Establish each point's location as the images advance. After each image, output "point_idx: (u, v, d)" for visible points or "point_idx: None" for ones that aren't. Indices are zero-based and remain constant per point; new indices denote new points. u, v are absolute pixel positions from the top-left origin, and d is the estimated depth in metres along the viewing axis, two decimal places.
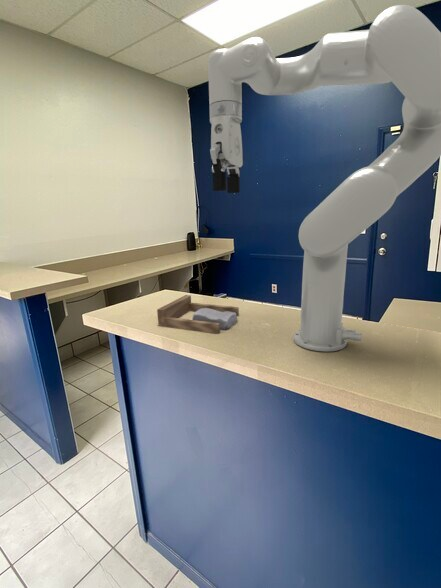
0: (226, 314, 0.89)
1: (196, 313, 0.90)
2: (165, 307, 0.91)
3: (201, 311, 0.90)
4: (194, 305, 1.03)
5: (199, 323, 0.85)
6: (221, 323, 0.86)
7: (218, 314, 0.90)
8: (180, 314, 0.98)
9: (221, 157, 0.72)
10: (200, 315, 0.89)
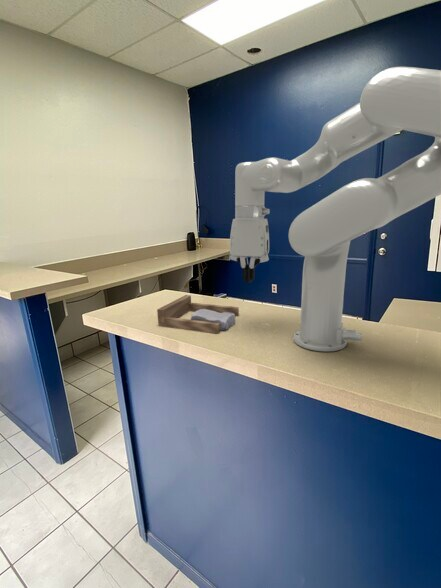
0: (224, 315, 0.89)
1: (194, 314, 0.89)
2: (165, 307, 0.91)
3: (199, 312, 0.90)
4: (194, 305, 1.03)
5: (199, 323, 0.85)
6: None
7: (216, 315, 0.89)
8: (180, 314, 0.98)
9: None
10: (198, 316, 0.88)
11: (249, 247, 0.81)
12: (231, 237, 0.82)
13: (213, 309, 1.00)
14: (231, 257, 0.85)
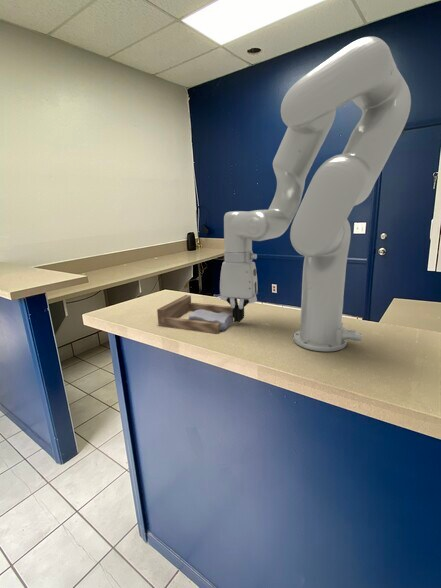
0: (222, 315, 0.88)
1: (192, 315, 0.88)
2: (165, 307, 0.91)
3: (197, 313, 0.89)
4: (194, 305, 1.03)
5: (199, 323, 0.85)
6: None
7: (214, 315, 0.88)
8: (180, 314, 0.98)
9: None
10: (196, 317, 0.87)
11: (238, 289, 0.85)
12: (221, 279, 0.86)
13: (213, 309, 1.00)
14: (221, 297, 0.89)
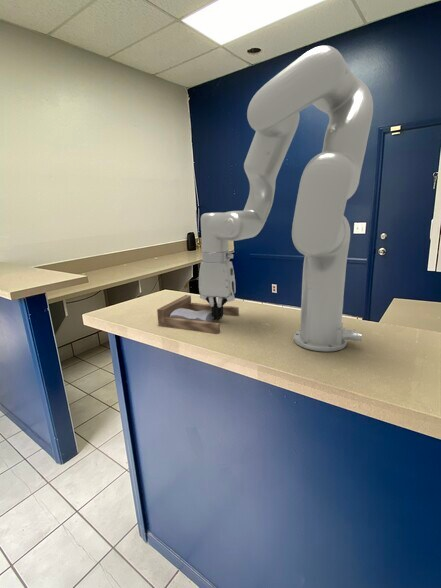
0: (203, 313, 0.91)
1: (173, 313, 0.90)
2: (165, 307, 0.91)
3: (178, 311, 0.91)
4: (194, 305, 1.03)
5: (199, 323, 0.85)
6: None
7: (195, 313, 0.91)
8: None
9: None
10: (177, 315, 0.89)
11: (216, 288, 0.88)
12: (199, 279, 0.89)
13: None
14: (201, 296, 0.92)
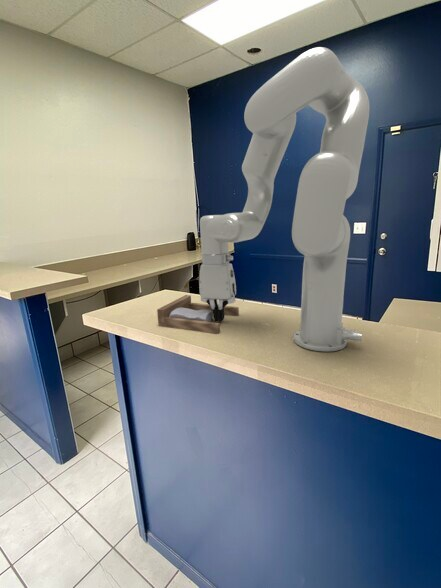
0: (203, 312, 0.91)
1: (173, 313, 0.90)
2: (165, 307, 0.91)
3: (178, 310, 0.91)
4: (194, 305, 1.03)
5: (199, 323, 0.85)
6: None
7: (195, 313, 0.91)
8: None
9: None
10: (177, 314, 0.89)
11: (217, 291, 0.88)
12: (200, 282, 0.89)
13: None
14: (202, 299, 0.92)
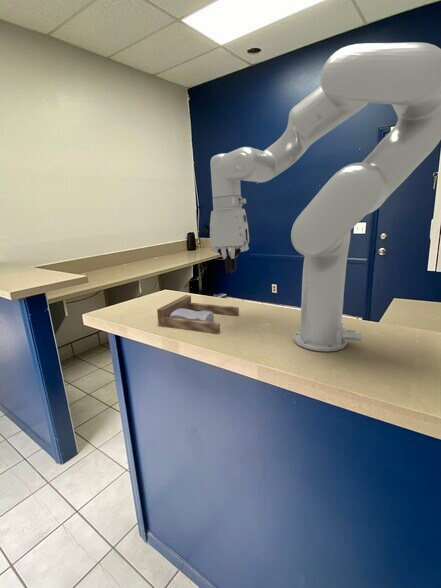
0: (203, 313, 0.91)
1: (173, 313, 0.90)
2: (165, 307, 0.91)
3: (178, 311, 0.91)
4: (194, 305, 1.03)
5: (199, 323, 0.85)
6: None
7: (195, 314, 0.91)
8: None
9: None
10: (177, 315, 0.89)
11: (229, 237, 0.82)
12: (211, 229, 0.84)
13: (213, 309, 1.00)
14: (212, 249, 0.87)
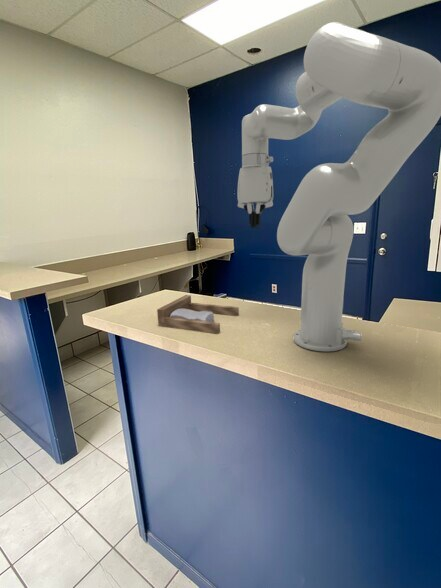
0: (203, 313, 0.90)
1: (173, 314, 0.90)
2: (165, 307, 0.91)
3: (178, 311, 0.91)
4: (194, 305, 1.03)
5: (199, 323, 0.85)
6: None
7: (195, 314, 0.91)
8: None
9: None
10: (177, 315, 0.89)
11: (255, 193, 0.90)
12: (238, 185, 0.91)
13: (213, 309, 1.00)
14: (239, 205, 0.94)
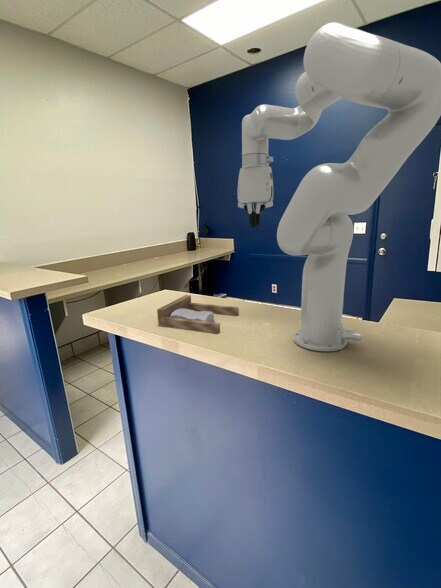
0: (203, 313, 0.90)
1: (173, 314, 0.90)
2: (165, 307, 0.91)
3: (178, 311, 0.91)
4: (194, 305, 1.03)
5: (199, 323, 0.85)
6: None
7: (195, 314, 0.91)
8: None
9: None
10: (177, 315, 0.89)
11: (255, 193, 0.90)
12: (239, 185, 0.91)
13: (213, 309, 1.00)
14: (239, 205, 0.94)
